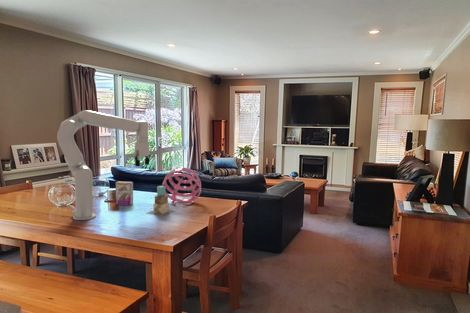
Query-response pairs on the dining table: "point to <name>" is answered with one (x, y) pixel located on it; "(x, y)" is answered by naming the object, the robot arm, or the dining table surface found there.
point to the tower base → (161, 208)
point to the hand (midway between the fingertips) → (142, 165)
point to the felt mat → (161, 214)
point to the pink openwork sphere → (177, 187)
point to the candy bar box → (124, 193)
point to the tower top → (161, 199)
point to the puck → (160, 190)
